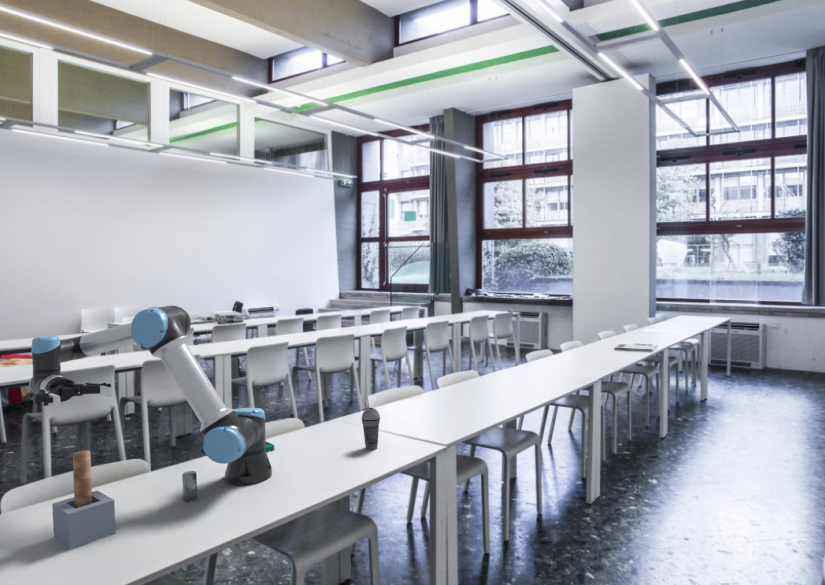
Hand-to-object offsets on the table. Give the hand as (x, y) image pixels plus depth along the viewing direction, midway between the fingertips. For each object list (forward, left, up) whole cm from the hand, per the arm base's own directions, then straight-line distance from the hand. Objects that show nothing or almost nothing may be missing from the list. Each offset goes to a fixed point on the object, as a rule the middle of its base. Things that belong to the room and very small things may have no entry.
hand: (85, 396), depth 161 cm
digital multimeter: (-66, -13, -35) cm, 75 cm away
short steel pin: (-23, +14, -34) cm, 43 cm away
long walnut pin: (+7, +14, -34) cm, 37 cm away
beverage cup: (-92, +24, -34) cm, 101 cm away
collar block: (+7, +14, -34) cm, 37 cm away
